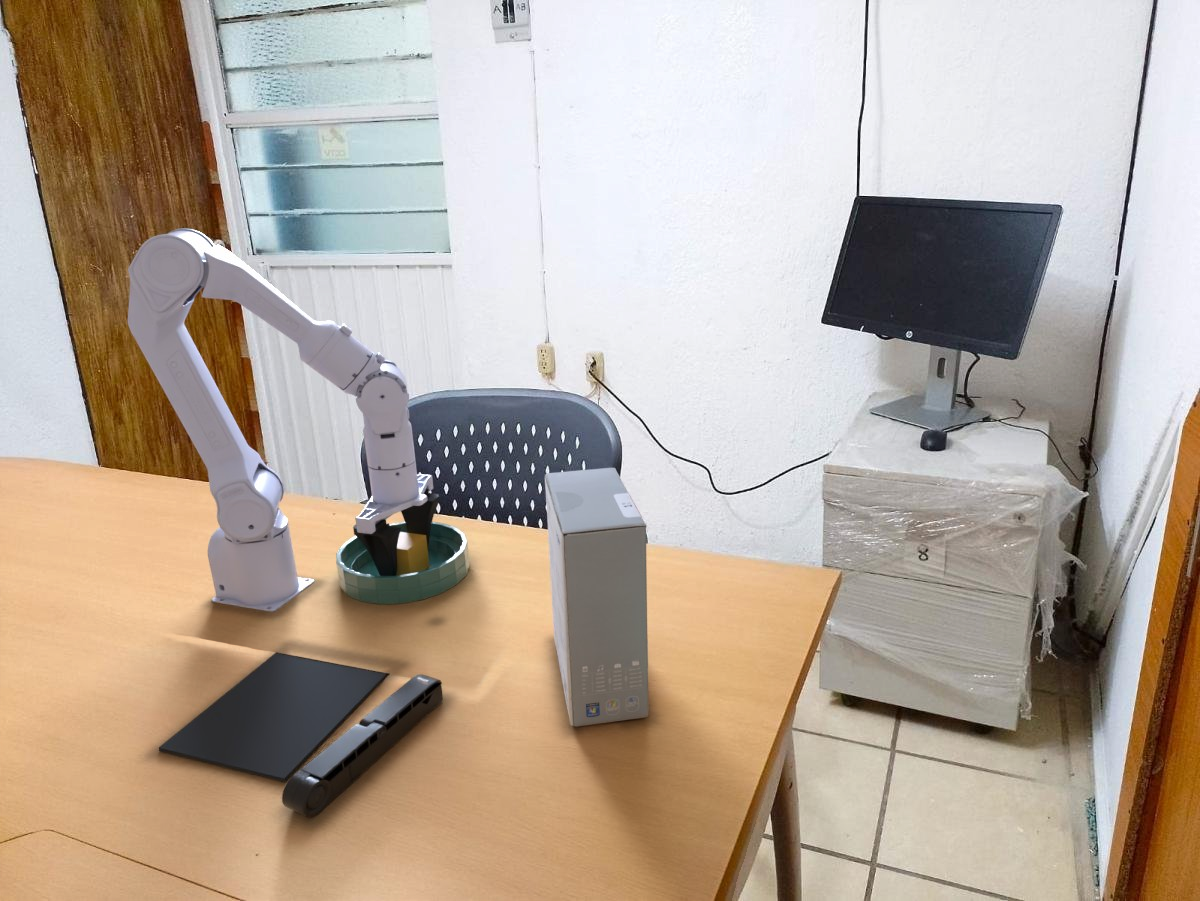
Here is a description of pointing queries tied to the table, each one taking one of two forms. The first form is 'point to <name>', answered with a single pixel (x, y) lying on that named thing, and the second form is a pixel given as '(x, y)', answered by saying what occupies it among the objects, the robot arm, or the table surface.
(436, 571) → the bowl
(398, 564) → the block
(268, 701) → the mat
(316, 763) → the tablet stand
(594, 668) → the hard drive box
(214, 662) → the table surface
